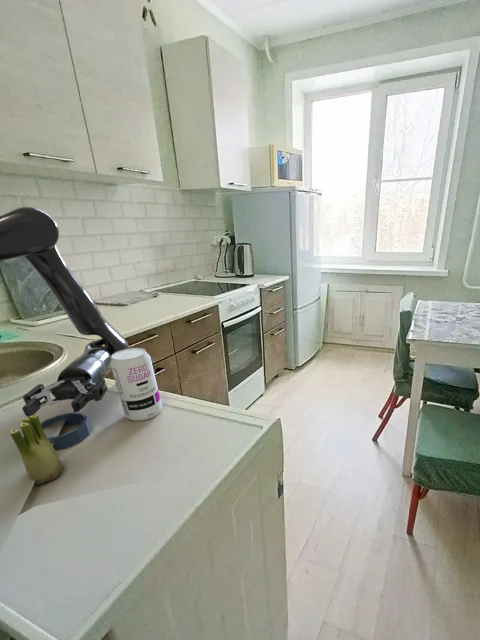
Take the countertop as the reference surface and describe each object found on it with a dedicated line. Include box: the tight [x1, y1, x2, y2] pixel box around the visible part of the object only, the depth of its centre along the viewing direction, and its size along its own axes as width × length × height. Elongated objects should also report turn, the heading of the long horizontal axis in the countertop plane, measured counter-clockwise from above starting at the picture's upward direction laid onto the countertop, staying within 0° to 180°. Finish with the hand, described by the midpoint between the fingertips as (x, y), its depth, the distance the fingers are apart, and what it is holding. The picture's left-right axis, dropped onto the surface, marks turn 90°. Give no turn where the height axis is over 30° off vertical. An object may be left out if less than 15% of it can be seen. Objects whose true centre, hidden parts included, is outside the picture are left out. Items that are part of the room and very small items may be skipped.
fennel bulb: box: [9, 413, 64, 485], centre depth 61 cm, size 6×5×12 cm
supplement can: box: [110, 347, 163, 422], centre depth 79 cm, size 8×8×15 cm
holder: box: [40, 411, 93, 452], centre depth 75 cm, size 10×10×3 cm
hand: (50, 410), depth 66 cm, fingers open, 8 cm apart
